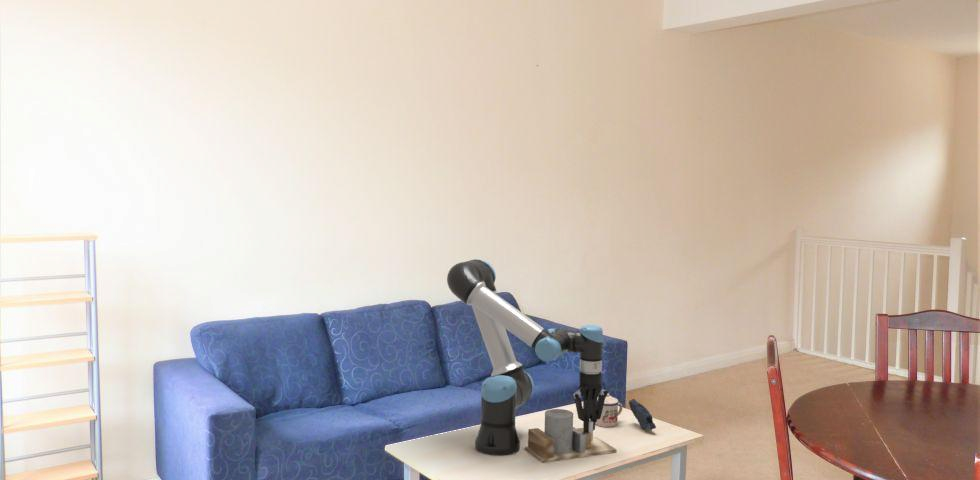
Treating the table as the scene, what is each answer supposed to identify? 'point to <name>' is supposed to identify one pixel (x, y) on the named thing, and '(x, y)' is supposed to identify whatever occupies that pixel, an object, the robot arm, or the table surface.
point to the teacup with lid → (609, 412)
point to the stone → (642, 415)
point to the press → (544, 452)
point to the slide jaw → (581, 439)
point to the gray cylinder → (560, 429)
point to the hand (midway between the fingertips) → (588, 439)
